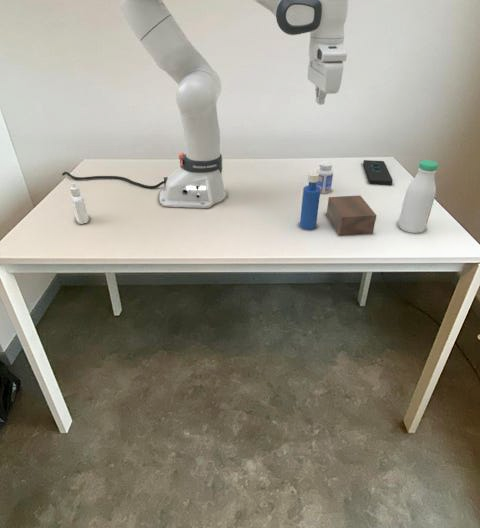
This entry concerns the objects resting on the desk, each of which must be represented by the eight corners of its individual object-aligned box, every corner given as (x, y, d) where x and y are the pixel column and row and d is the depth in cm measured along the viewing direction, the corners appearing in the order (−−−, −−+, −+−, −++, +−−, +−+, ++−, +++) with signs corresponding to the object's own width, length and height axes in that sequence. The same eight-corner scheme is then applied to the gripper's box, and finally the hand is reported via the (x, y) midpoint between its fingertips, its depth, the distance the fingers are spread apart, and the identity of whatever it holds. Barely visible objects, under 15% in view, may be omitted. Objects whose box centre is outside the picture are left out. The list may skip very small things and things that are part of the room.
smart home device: (384, 160, 160) (393, 180, 144) (383, 164, 161) (392, 185, 145) (362, 159, 161) (369, 179, 145) (362, 163, 162) (368, 184, 146)
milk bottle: (421, 236, 116) (441, 170, 105) (394, 229, 120) (411, 164, 108) (427, 225, 122) (447, 160, 110) (401, 218, 125) (417, 155, 113)
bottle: (307, 236, 120) (277, 203, 113) (303, 228, 124) (274, 195, 117) (346, 208, 116) (317, 172, 109) (340, 201, 120) (312, 165, 113)
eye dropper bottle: (72, 224, 122) (62, 187, 115) (79, 215, 126) (69, 179, 119) (86, 224, 121) (77, 187, 115) (93, 215, 126) (84, 179, 119)
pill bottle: (330, 187, 144) (333, 160, 138) (331, 193, 139) (335, 166, 134) (314, 186, 144) (317, 160, 138) (315, 193, 140) (318, 166, 134)
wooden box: (339, 235, 116) (342, 217, 113) (326, 214, 127) (328, 196, 124) (372, 233, 117) (376, 215, 114) (357, 212, 128) (360, 195, 124)
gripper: (304, 44, 117) (300, 95, 125) (324, 55, 100) (318, 113, 108) (326, 44, 117) (320, 94, 125) (349, 54, 101) (341, 112, 109)
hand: (319, 103), depth 117 cm, fingers closed
